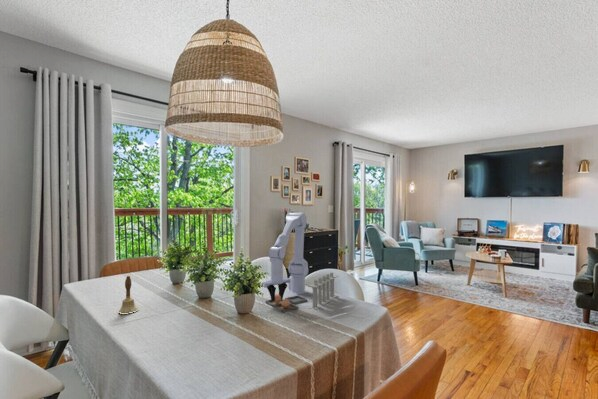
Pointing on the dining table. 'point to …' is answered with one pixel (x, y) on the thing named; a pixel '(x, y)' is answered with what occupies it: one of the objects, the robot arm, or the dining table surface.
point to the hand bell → (128, 299)
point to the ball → (285, 303)
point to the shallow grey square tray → (296, 299)
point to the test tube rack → (323, 291)
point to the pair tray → (279, 306)
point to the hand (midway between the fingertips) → (276, 299)
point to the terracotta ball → (277, 298)
